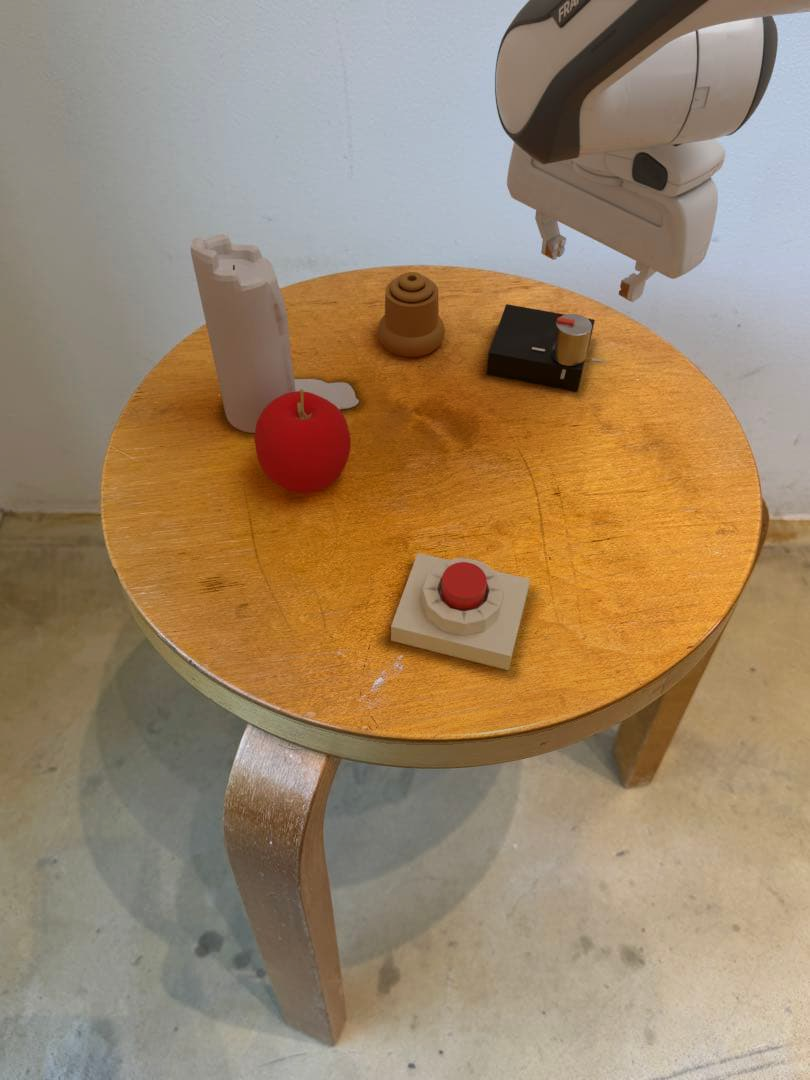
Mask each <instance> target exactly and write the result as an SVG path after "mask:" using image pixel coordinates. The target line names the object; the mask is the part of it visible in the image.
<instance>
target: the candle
mask: <svg viewBox="0 0 810 1080" xmlns="http://www.w3.org/2000/svg"><path fill="white" fill-rule="evenodd" d="M190 255H191V260H192V265H193V270H194V274H195V279H196V284H197V288H198V292H199V298H200V303H201V305H202V306H201V307H202V312H203V316H204V320H205V326H206V330H207V334H208V338H209V344H210V349H211V353H212V357H213V358H212V359H213V362H214V363H213V364H214V368H215V373H216V377H217V380H218V381H217V382H218V385H219V390H220V395H221V400H222V404H223V409H224V413H225V417H226V419H227V421H228V422H229V424H230V425H231V426H233V427H234V428H235V429H237V430H239V431H241V432H245V433H251V434H255V429H256V424H257V421H258V419H259V417H260V415H261V413H262V411H263V409H264V408H265V407H266V406H267V405H268V404H269V403H270V402H271V401H273V400H274V399H276V398H278V397H280V396H282V395H284V394H286V393H290V392H296V391H300V389H304V392H310V393H313V394H315V395H318V396H320V397H322V398H324V399H327V400H328V401H330V402H331V403H332V404H334V405H335V406H336V407H337V408H338V409H339V410H340V411H341V410H346V409H351V408H354V407H356V406H357V405H359V402H360V400H359V399H358V398H357V396H356V392H355V390H354V388H353V387H352V386H351V385H350V384H349V383H347V382H344V381H340V382H339V381H338V382H325V381H323V380H322V379H315V378H295V375H294V367H293V361H292V354H291V344H290V343H291V342H290V341H291V340H290V339H291V337H290V328H289V320H288V319H289V318H288V313H287V307H286V303H285V299H284V297H283V294H282V291H281V288H280V285H279V282H278V279H277V274H276V272H275V268H274V266H273V264H272V262H271V261H270V260H268V259H266V257H265V258H264V257H263V255H262V252H261V250H260V249H259V247H258V246H256V245H253V244H235V243H232V241H231V239H230V237H229V235H226V234H225V233H220V234H216V235H213V236H210V237H209V238H206V239H205V238H203V237H201V236H198V237H194V238H193V239H192V242H191V245H190Z"/></svg>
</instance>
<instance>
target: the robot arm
mask: <svg viewBox="0 0 810 1080" xmlns="http://www.w3.org/2000/svg"><path fill="white" fill-rule="evenodd" d="M801 13H810V0H528V1H527V2H526V3H525V4H524V6H523V7H522V8H521V9H520V10H519V11H518V13H517V14H516V15H515V17H514V18H513V20H511V23H510V24H509V25H508V27H507V29H506V31H505V32H504V34H503V36H502V38H501V41H500V44H499V47H498V51H497V54H496V55H497V56H496V62H495V71H494V95H495V97H494V98H495V105H496V111H497V114H498V115H497V116H498V119H499V123H500V125H501V127H502V129H503V131H504V132H505V134H506V135H507V136H508V137H509V138H510V139H511V140H512V141H513V146H512V149H511V154H510V158H509V163H508V169H507V176H506V186H507V189H508V192H509V195H510V197H511V198H512V199H513V200H515V201H517V202H519V203H521V204H523V205H526V206H527V207H529V208H531V209H533V210H535V216H534V219H535V223H536V226H537V229H538V231H539V234H540V238H541V240H542V241H541V250H540V251H541V252H540V253H541V254H542V255H543V256H545V257H546V258H549V259H551V260H553V261H555V260H557V258H560V257H562V256H563V255H564V253H565V251H566V250H565V249H566V248H565V245H566V242H567V237H565V236H563V235H561V232H560V226H559V223H561V224H563V225H564V226H566V227H569V228H570V229H572V230H575V231H576V232H577V233H580V234H582V235H585V236H586V237H589V238H590V239H592V240H594V241H596V242H598V243H600V244H602V245H604V246H606V247H608V248H609V249H612V250H613V251H616V252H617V253H620V254H622V255H623V256H625V257H628V258H629V259H632V260H634V261H635V265H634V270H635V271H637V272H639V273H638V274H637V273H635V272H633V273H630V274H629V275H628V276H627V277H624V278H623V279H622V280H621V281H620V285H619V288H620V289H619V290H618V296H620V297H622V298H623V299H625V300H627V301H628V302H631V303H634V302H636V301H637V300H639V299H640V298H641V297H642V295H643V294H644V290H645V287H646V282H647V281H648V280H649V279H650V278H652V276H653V275H654V274H656V272H657V273H659V274H661V275H662V276H665V277H666V278H669V279H672V280H675V279H678V278H681V277H682V276H684V275H686V274H687V273H690V272H692V271H693V270H694V269H695V268H697V267H698V266H700V264H702V262H703V261H704V260H705V258H706V256H707V253H708V251H709V247H710V244H711V239H712V236H713V231H714V227H715V222H716V218H717V217H716V216H717V211H718V204H719V194H718V189H717V185H716V182H715V181H714V179H713V178H712V177H713V176H714V175H716V174H717V173H718V172H719V171H720V170H721V169H722V167H723V165H724V163H725V158H726V149H725V147H724V146H723V145H722V143H720V142H719V141H718V140H717V139H719V138H723V137H728V136H732V135H733V134H735V133H737V132H738V130H740V129H742V127H743V126H744V125H745V124H747V122H748V120H750V118H751V117H752V116H753V115H754V113H755V112H756V110H757V108H758V107H759V105H760V104H761V101H762V100H763V98H764V96H765V94H766V91H767V89H768V86H769V84H770V82H771V79H772V75H773V72H774V68H775V65H776V59H777V53H778V45H779V43H778V42H779V39H778V38H779V36H778V35H779V34H778V33H779V32H778V27H777V24H776V22H775V19H774V17H773V16H783V15H791V14H801ZM558 222H559V223H558Z"/></svg>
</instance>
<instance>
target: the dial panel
mask: <svg viewBox="0 0 810 1080" xmlns="http://www.w3.org/2000/svg"><path fill="white" fill-rule="evenodd" d="M563 315H566V314H564V313H559V312H553V311H547V310H543V309H537V308H531V307H524V306H520V305H513V304H509V303H506V304H505V306H504V309H503V312H502V314H501V316H500V320H499V323H498V325H497V328H496V331H495V334H494V337H493V339H492V342H491V345H490V348H489V351H488V354H487V363H486V373H485V374H486V375H487V376H492V377H497V378H501V379H508V380H513V381H517V382H523V383H527V384H534V385H538V386H544V387H548V388H554V389H555V388H556V389H560V390H565V391H570V392H574V393H579V388H580V385H581V380H582V377H583V373H584V368H585V364H586V360H587V356H588V352H589V349H590V344H591V341H592V335H593V331H594V326H595V322H596V320H595V319H592V318H587V317H586V318H587V319H589V320H590V322H591V324H592V329H591V334H590V338H589V343H588V348H587V353H586V357H585V360H584V361H583V362H582V363H581V364H579V365H576V366H565V365H561V364H559V363H557V362H556V361H555V360H554V359H553V358H552V355H551V352H552V346H553V340H554V334H555V328H556V323H557V319H558V317H561V316H563ZM591 362H594V363H598V364H606V360H605V359H599V358H595V357H592V358H591Z"/></svg>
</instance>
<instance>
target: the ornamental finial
mask: <svg viewBox="0 0 810 1080" xmlns="http://www.w3.org/2000/svg"><path fill="white" fill-rule="evenodd" d="M445 333H446V329H445V323H444V321H443V319H442V318H441V316H440V315H439V287H438V286H437V284H436V283H435V282H434V281H433V280H431V279H430V278H428V277H427V276H425V275H423V274H421V273H419V272H416V271H408V272H405V273H402V274H400V275H398V276H396V277H395V278H394V279H392V280H391V281H389V282H388V284H386V287H385V293H384V314H383V315H382V317H381V318H380V320H379V322H378V326H377V334H378V335H377V336H378V338H379V340H380V343H381V344H382V346H383V347H384V348H385V349H386V350H388V351H389V352H390V353H392V354H394V355H397V356H400V357H404V358H419V357H423V356H426V355H429V354H431V353H433V352H434V351H435V350H437V349H438V348H439V347H440V345H442V342H443V341H444V337H445Z"/></svg>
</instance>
